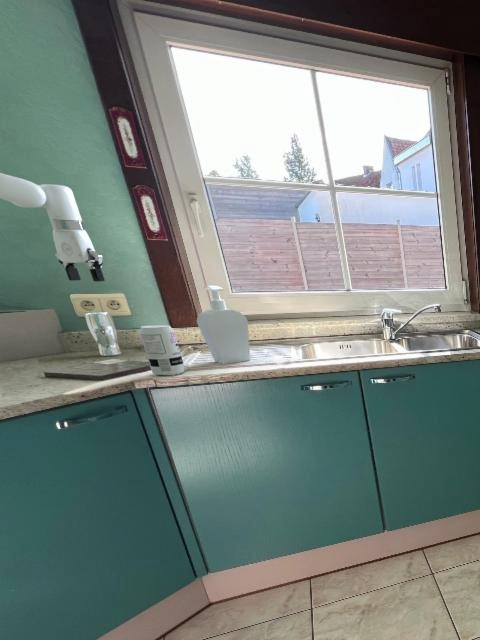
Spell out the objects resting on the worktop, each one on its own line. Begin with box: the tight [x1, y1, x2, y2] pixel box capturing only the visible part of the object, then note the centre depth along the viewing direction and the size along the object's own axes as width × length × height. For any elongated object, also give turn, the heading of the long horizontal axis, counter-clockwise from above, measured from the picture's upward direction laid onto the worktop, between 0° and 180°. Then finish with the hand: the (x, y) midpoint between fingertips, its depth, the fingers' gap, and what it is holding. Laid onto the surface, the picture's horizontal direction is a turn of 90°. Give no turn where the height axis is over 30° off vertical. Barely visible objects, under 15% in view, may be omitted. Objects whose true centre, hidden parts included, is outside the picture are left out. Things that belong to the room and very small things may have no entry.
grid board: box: [43, 358, 152, 381], centre depth 158 cm, size 20×20×2 cm
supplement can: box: [139, 324, 186, 376], centre depth 155 cm, size 8×8×15 cm
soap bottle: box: [196, 285, 251, 365], centre depth 173 cm, size 12×10×26 cm
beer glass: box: [84, 311, 123, 357], centre depth 178 cm, size 7×7×15 cm
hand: (87, 280), depth 169 cm, fingers open, 9 cm apart
